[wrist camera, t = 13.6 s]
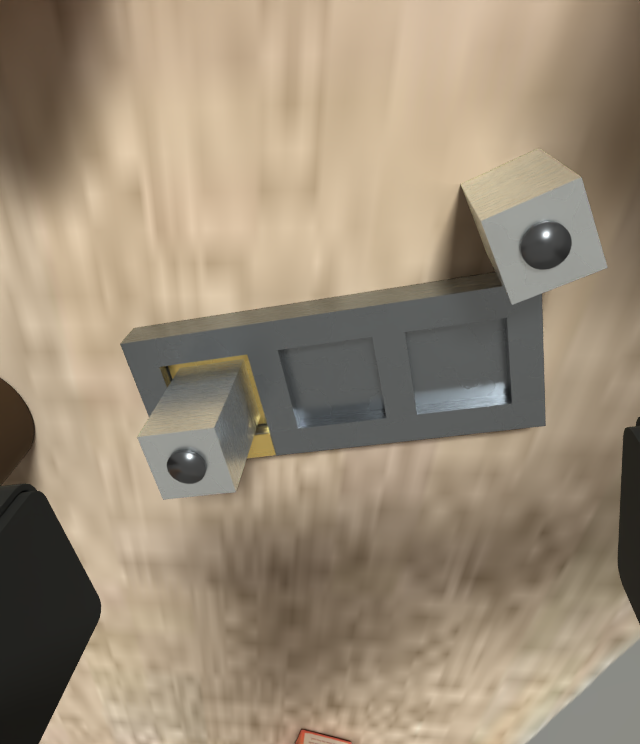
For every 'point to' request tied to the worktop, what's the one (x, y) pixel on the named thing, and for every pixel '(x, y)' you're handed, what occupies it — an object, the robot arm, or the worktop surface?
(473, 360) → the tray with square compartments
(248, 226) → the worktop surface
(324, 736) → the cracker box
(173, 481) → the grey block with knob
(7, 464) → the olive oil
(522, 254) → the block with ball knob
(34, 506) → the robot arm
